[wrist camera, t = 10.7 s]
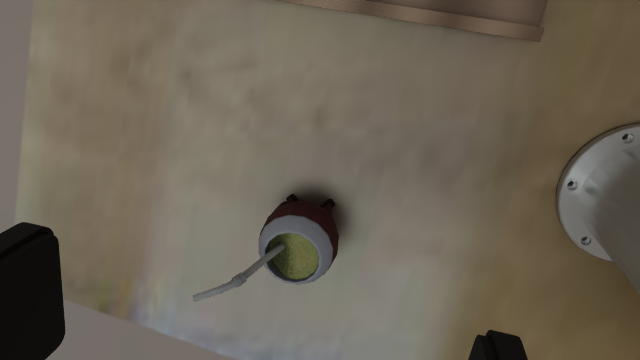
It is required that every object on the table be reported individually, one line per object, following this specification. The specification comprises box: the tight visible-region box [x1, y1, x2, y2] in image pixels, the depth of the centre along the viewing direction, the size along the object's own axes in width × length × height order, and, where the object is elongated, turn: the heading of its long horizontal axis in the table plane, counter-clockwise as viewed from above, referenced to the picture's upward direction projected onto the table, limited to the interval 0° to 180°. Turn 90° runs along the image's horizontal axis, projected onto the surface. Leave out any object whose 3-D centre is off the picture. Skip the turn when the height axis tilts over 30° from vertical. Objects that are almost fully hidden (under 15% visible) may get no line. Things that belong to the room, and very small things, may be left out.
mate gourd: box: [193, 194, 339, 302], centre depth 39 cm, size 8×8×15 cm
